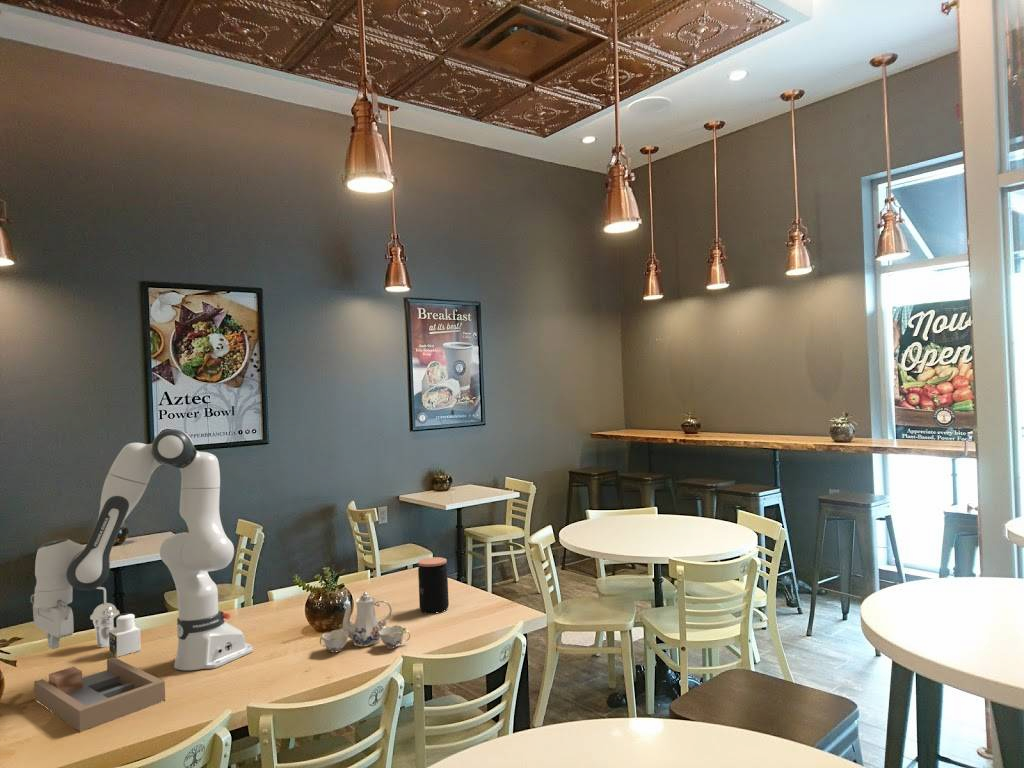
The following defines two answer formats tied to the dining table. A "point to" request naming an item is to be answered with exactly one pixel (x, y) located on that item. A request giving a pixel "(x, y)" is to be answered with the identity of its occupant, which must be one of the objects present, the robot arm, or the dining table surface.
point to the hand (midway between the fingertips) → (53, 647)
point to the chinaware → (364, 627)
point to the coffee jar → (433, 584)
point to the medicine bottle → (124, 635)
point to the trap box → (102, 695)
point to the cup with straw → (104, 621)
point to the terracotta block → (66, 679)
